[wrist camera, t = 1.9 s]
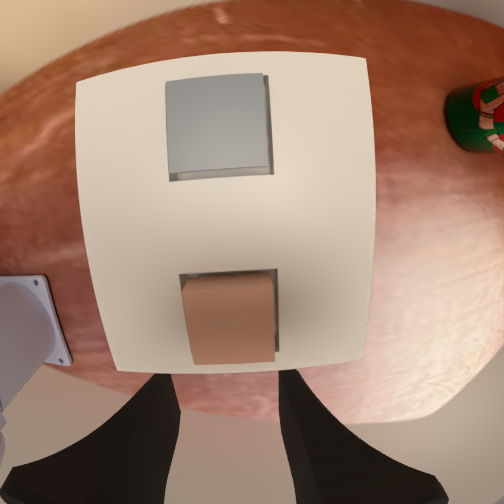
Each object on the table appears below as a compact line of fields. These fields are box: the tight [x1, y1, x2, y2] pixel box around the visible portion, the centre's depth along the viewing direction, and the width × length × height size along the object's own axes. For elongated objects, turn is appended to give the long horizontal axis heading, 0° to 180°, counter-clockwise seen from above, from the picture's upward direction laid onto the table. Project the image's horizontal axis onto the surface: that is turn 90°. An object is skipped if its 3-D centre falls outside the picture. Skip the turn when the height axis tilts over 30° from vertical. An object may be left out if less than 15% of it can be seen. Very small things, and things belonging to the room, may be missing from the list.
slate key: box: [166, 73, 268, 173], centre depth 13 cm, size 4×4×2 cm
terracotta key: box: [182, 273, 275, 365], centre depth 16 cm, size 4×4×2 cm
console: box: [75, 52, 376, 374], centre depth 16 cm, size 16×18×3 cm
